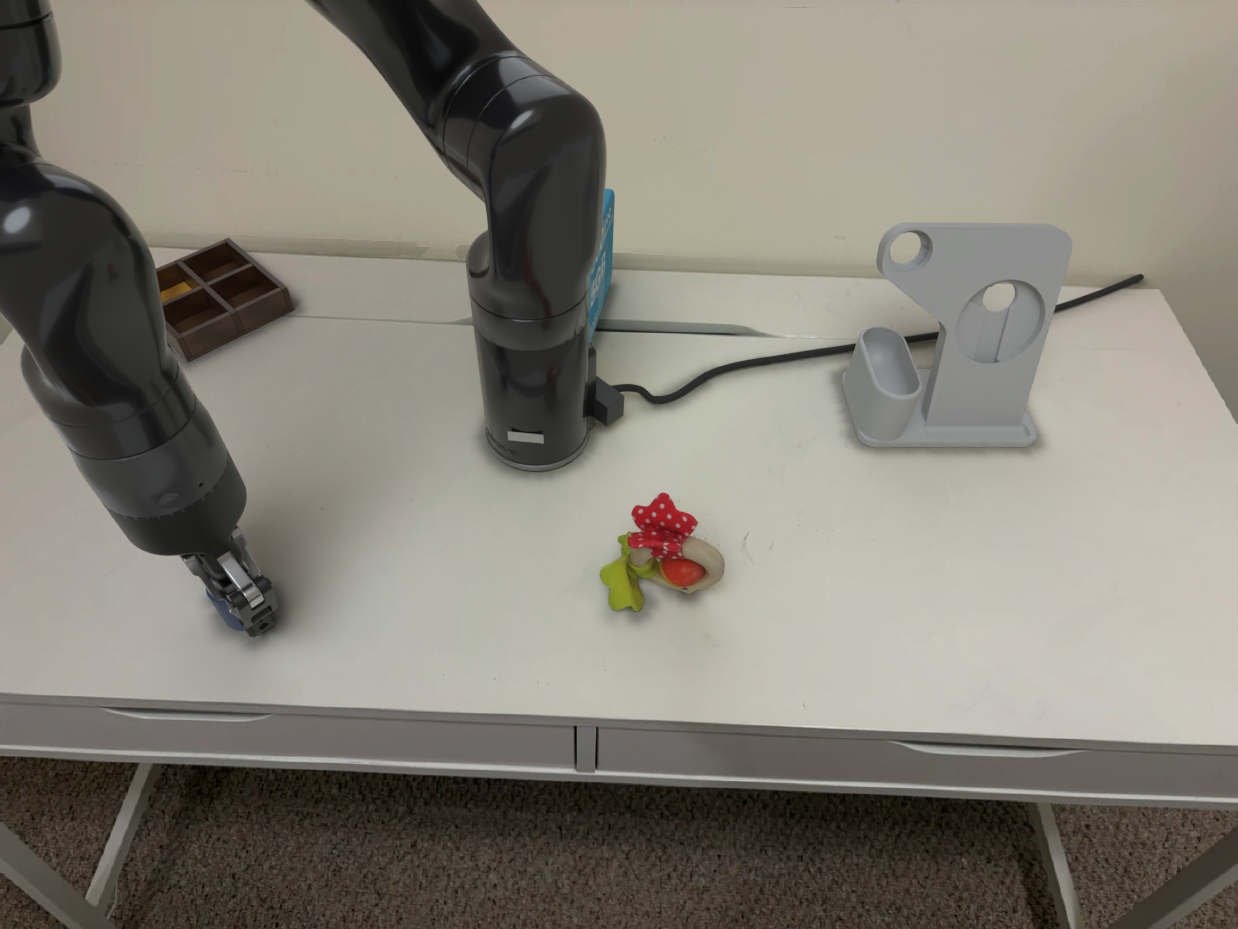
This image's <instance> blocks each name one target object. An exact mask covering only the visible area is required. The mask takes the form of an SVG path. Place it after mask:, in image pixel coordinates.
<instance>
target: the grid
mask: <svg viewBox="0 0 1238 929" xmlns="http://www.w3.org/2000/svg"><path fill="white" fill-rule="evenodd" d="M156 271H157V277H158V282H159V288H160V293H161V299H162V305H163V310H164V316H165V324H166V338H167V342H168V344H169V345H170V347H171V348H173V349H174V351H176V352H177V353H178V354H179V356H181V357H182V359H183V360H185V361H186V362H187V363H189V362H191V361H194V360H195V359H198V358H199V357H201V356H203V355H205V354H208V353H210V352H211V351H214V350H215V349H217V348H220V347H222V346H224V345H226V344H228V343H230V342H232V341H234V340H235V339H239V338H240V337H242V336H244V335H246V334H248V333H250V332H253V331H254V330H256V329H258V328H261V327H262V326H265V325H266V324H268V323H271V322H272V321H275V320H276V319H278V318H281V317H282V316H285V315H287V314H289V313H290V312H293V311H295V306H294V303H293V301H292V298H291V295H290V291H289V288H288V286H286V284H284V283H283V282H282V281H281V280H279V279H278V278H277V277H276V276H275V275H273V273H271V272H270V271H269V270H267V269H266V268H265V267H264V266H263V265H262V264H260V262H258V261H257V260H256V259H254V258H253V257H252V256H251V255H250V254H248V253H247V251H245V250H244V249H243V248H241V247H240V245H238V244H237V243H236V242H234V240H232V239H231V238H230V237H227V238H224V239H222V240H219V241H217V242H215V243H212V244H210V245H208V246H206V247H202V248H201V249H198V250H196V251H194V252H192V253H189V254H187V255H184V256H181V257H180V258H177V259H175V260H173V261H171V262H168V263H166V264H163V265H161V266H159V267H157V268H156Z"/></svg>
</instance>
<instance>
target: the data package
mask: <svg viewBox="0 0 1238 929" xmlns="http://www.w3.org/2000/svg"><path fill="white" fill-rule="evenodd" d="M615 194H616V193H615V191H614V190H613V189H612V188H606V187H605V195H604V208H603V220H602V233H601V241H600V246H599V250H598V254H597V256H596V259H595V261H594V264H593V266H592V268H591V270H590V273H589V342H588V343H589V344H590V345H591V343H592V340H593V338H594V335H595V331H596V329H597V325H598V322H599V319H600V316H601V314H602V310H603V307H604V304H605V301H606V298H607V295H608V293H609V289H610V285H611V281H612V274H613V252H614V251H613V249H614V226H615V225H614V224H615V202H616V201H615V197H616V196H615Z"/></svg>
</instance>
